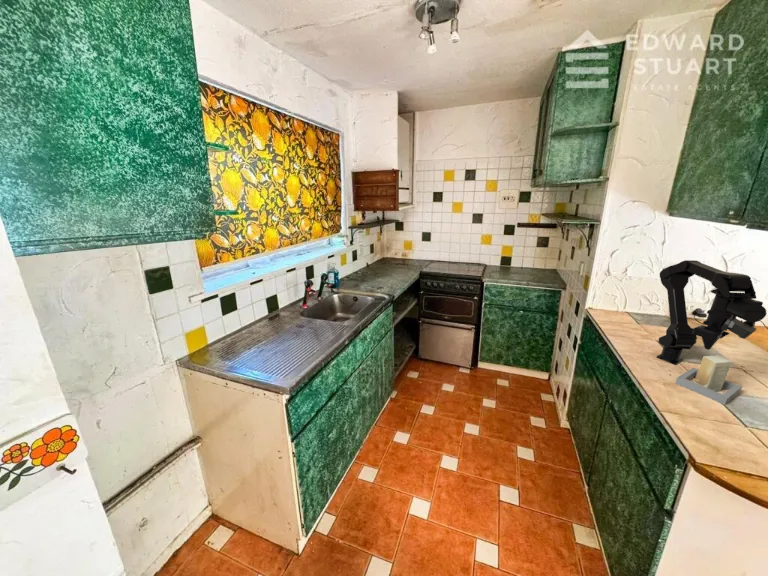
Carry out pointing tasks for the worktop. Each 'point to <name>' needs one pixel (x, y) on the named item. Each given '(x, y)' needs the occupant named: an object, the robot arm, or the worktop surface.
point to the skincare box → (713, 372)
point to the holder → (721, 398)
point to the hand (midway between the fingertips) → (707, 349)
